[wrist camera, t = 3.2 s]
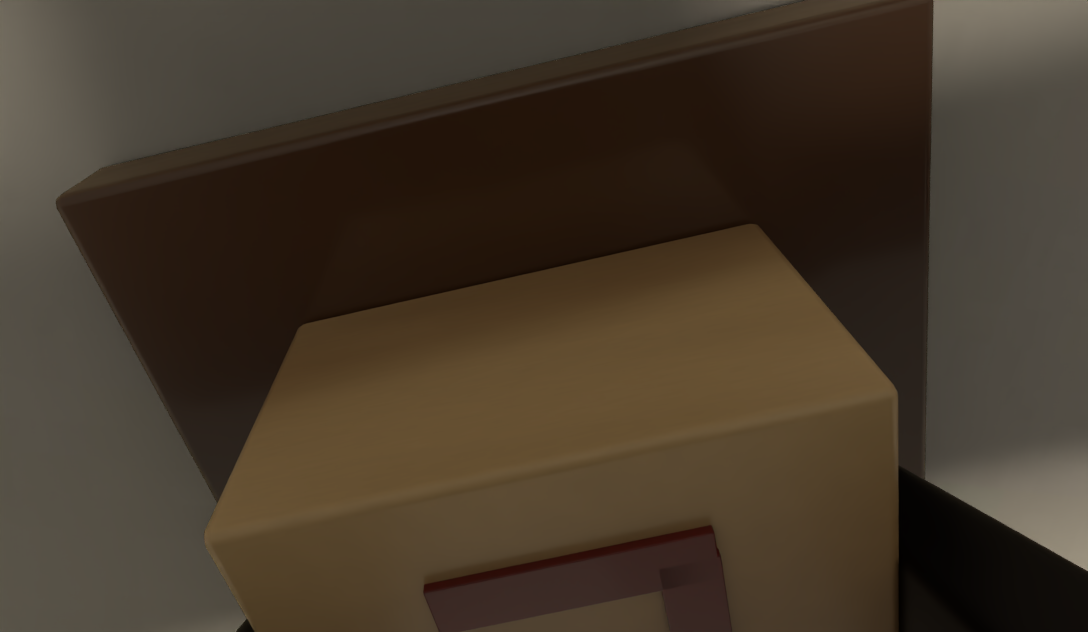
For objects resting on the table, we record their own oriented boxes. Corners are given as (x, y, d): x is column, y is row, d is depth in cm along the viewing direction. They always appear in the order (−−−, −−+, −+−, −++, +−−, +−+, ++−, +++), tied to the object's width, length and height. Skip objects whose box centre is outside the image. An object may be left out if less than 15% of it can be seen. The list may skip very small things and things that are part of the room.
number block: (296, 322, 8) (190, 548, 5) (756, 217, 7) (911, 395, 5) (429, 633, 10) (404, 913, 7) (789, 560, 10) (907, 818, 7)
